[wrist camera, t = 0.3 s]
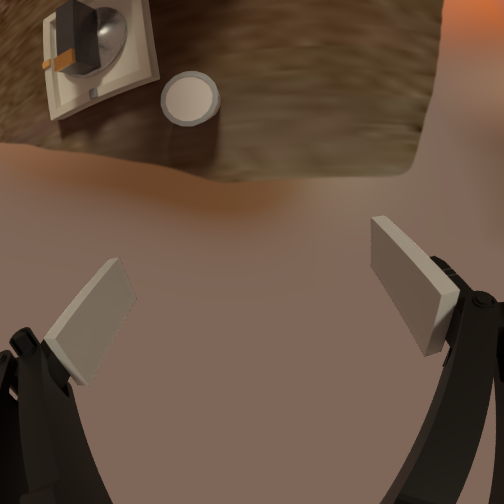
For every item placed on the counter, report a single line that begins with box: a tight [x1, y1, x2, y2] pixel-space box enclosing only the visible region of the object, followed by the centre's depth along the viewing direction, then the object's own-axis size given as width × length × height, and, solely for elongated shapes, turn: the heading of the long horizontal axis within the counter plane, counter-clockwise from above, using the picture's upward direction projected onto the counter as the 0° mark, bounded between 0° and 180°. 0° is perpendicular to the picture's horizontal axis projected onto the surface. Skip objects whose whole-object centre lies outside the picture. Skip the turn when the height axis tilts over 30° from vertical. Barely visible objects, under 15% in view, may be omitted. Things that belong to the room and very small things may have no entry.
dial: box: [54, 0, 127, 78], centre depth 23 cm, size 12×12×8 cm
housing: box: [43, 0, 160, 121], centre depth 27 cm, size 20×18×4 cm
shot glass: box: [161, 71, 221, 126], centre depth 31 cm, size 7×7×7 cm
